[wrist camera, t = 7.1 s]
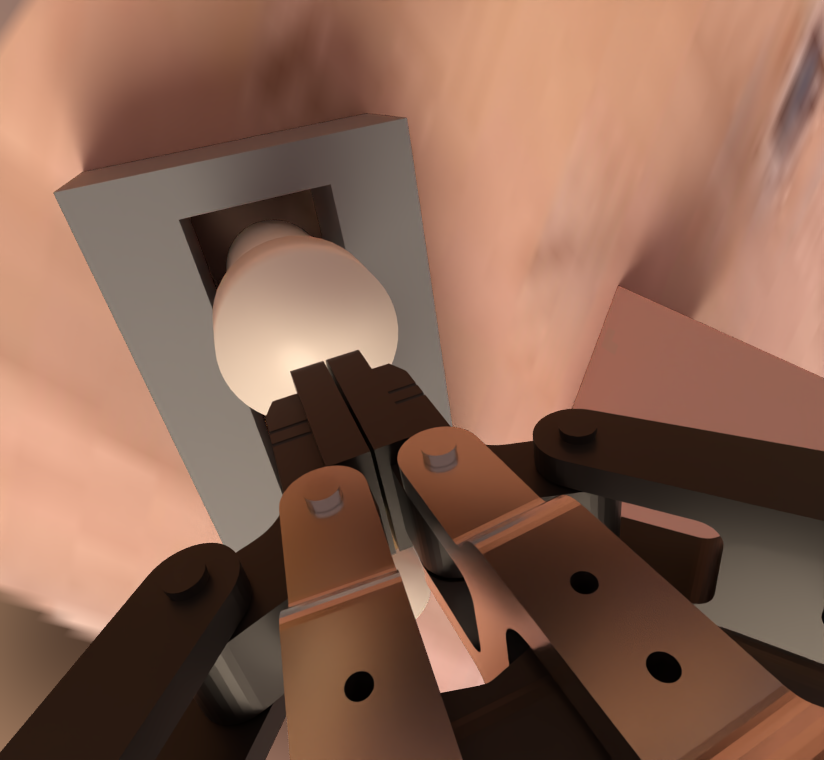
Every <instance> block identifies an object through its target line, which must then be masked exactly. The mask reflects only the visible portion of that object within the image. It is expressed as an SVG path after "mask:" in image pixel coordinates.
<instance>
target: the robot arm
mask: <svg viewBox="0 0 824 760" xmlns="http://www.w3.org/2000/svg"><path fill="white" fill-rule="evenodd" d="M326 366H327V367H326ZM290 373H291V377H292V380H293V383H294V386H295V389H296V392H297V394H293V395H290V396H287V397H284V398H281V399H278V400H275V401H272V403H271V406H270V408H269V410H268V412H267V415H266V417H265V418H266V422H267V426H268V430H269V434H270V439H271V443H272V446H273V451H274V455H275V459H276V463H277V468H278V472H279V476H280V480H281V484H282V488H283V492H284V493H283V495H282V497H281V500H280V503H279V514H280V515H279V517H278V518H277V519H276V521H275V522H274V523H273V525H272V526H271V527H270V528H269V529H268V530H267V531H266V532H265V533H263V534H262V535H261V536H260V537H258V538H257V539H256V540H254V541H253V542H251V543H250V544H248V545H247V546H245V547H244V548H242V549H241V550H239V551H237V552H236V553H235V551H234V550H232V549H231V548H230V547H228V546H226V545H223V544H219V543H203V544H198V545H194V546H191V547H188V548H186V549H183V550H181V551H179V552H177V553H175V554H174V555H172V556H170V557H169V558H167V559H166V560H164V561H163V562H162V563H161V564H159V565H158V566H157V567H156V568H155V569H154V570H153V571H152V572H151V573H150V574H149V575H148V576H147V577H146V579H145V580H144V581H143V582H142V583H141V585H140V586H139V587H138V588H137V589H136V591H135V592H134V593H133V594H132V595H131V597H130V598H129V599H128V600H127V601H126V603H125V604H124V605H123V606H122V607H121V609H120V610H119V611H118V612H117V613H116V615H115V616H114V617H113V618H112V619H111V621H110V622H109V623H108V624H107V625H106V627H105V628H104V629H103V630H102V631H101V633H100V634H99V635H98V636H97V637H96V639H95V640H94V641H93V642H92V643H91V644H90V646H89V647H88V648H87V649H86V651H85V652H84V653H83V654H82V655H81V656H80V658H79V659H78V660H77V661H76V662H75V664H74V665H73V666H72V667H71V668H70V670H69V671H68V672H67V673H66V675H65V676H64V677H63V678H62V679H61V680H60V682H59V683H58V684H57V685H56V686H55V688H54V689H53V690H52V691H51V692H50V694H49V695H48V696H47V697H46V698H45V700H44V701H43V702H42V703H41V704H40V706H39V707H38V708H37V709H36V710H35V712H34V713H33V714H32V715H31V716H30V717H29V719H28V720H27V721H26V722H25V724H24V725H23V726H22V727H21V728H20V729H19V731H18V732H17V733H16V734H15V736H14V737H13V738H12V739H11V740H10V741H9V743H8V744H7V745H6V746H5V747H4V749H3V750H2V751H1V752H0V760H266V757H267V755H268V753H269V751H270V749H271V746H272V745H273V743H274V740H275V738H276V736H277V734H278V732H279V730H280V728H281V726H282V723H283V721H284V719H285V717H286V719H287V732H288V744H289V756H290V760H824V451H821V450H815V449H809V448H804V447H798V446H792V445H787V444H781V443H775V442H770V441H764V440H758V439H753V438H747V437H741V436H736V435H730V434H725V433H719V432H713V431H708V430H702V429H696V428H691V427H685V426H679V425H674V424H668V423H662V422H657V421H651V420H645V419H640V418H634V417H628V416H623V415H617V414H611V413H606V412H600V411H594V410H588V409H566V410H560V411H557V412H554V413H551V414H549V415H547V416H545V417H544V418H542V419H541V420H540V421H539V422H538V423H537V424H536V425H535V428H534V430H533V441H529V442H522V443H514V444H507V445H485V444H484V443H483V442H482V441H481V440H480V439H479V438H478V437H477V436H476V435H474V434H473V433H471V432H469V431H468V430H465V429H462V428H457V427H451V426H450V425H449V424H448V422H447V421H446V420H445V419H444V417H443V416H442V415H441V414H440V412H439V411H438V410H437V409H436V407H435V406H434V405H433V404H432V402H431V401H430V400H429V399H428V397H427V396H426V395H424V393H423V391H422V390H421V389H420V387H419V386H418V385H416V382H415V381H414V380H413V379H412V377H411V376H410V375H409V374H408V372H407V371H406V370H403V369H401V368H399V367H396V366H394V365H391V364H389V363H388V364H385V365H382V366H379V367H376V368H373V369H372V368H371V367H370V365H369V364H368V362H367V361H366V359H365V358H364V356H363V355H362V354H361V352H360V351H359V350H355V351H352V352H349V353H346V354H343V355H340V356H336V357H333V358H330V359H327V360H326V365H325V363H324V361H321V362H318V363H315V364H311V365H308V366H305V367H302V368H299V369H295V370H292V371H290ZM622 502H625V503H629V504H633V505H637V506H641V507H645V508H649V509H653V510H657V511H660V512H664V513H668V514H672V515H676V516H680V517H684V518H688V519H692V520H696V521H699V522H702V523H704V524H706V525H708V526H710V527H712V528H713V529H714V530H715V531H716V532H717V533H718V534H719V535H720V536H718V537H716V538H700V537H696V536H692V535H689V534H685V533H681V532H677V531H674V530H670V529H666V528H663V527H659V526H655V525H652V524H648V523H644V522H640V521H637V520H633V519H629V518H626V517H622V516H621V507H622ZM392 536H393V538H394V540H395V542H396V544H397V546H398V549H399V551H403V550H405V549H408V548H410V547H412V546H414V548H415V550H416V552H417V554H418V556H419V558H420V561H421V566H422V570H423V574H424V579H425V581H426V583H427V585H428V587H429V588H430V590H431V592H432V593H433V595H434V597H435V598H436V600H437V602H438V603H439V605H440V607H441V608H442V610H443V611H444V613H445V615H446V616H447V618H448V620H449V621H450V623H451V625H452V626H453V628H454V630H455V631H456V633H457V635H458V636H459V638H460V639H461V641H462V643H463V644H464V646H465V648H466V649H467V651H468V653H469V654H470V656H471V658H472V659H473V661H474V662H475V664H476V666H477V668H478V670H479V672H480V674H481V676H482V678H483V680H484V683H485V684H483V685H480V686H475V687H470V688H465V689H459V690H454V691H449V692H443V693H440V691H439V688H438V685H437V682H436V679H435V676H434V673H433V670H432V667H431V664H430V661H429V658H428V655H427V652H426V649H425V646H424V643H423V640H422V637H421V634H420V631H419V628H418V625H417V622H416V620H415V617H414V614H413V611H412V608H411V605H410V602H409V599H408V596H407V593H406V590H405V587H404V584H403V581H402V578H401V575H400V573H399V571H398V570H396V567H395V564H394V561H393V558H392V555H394V554H396V549H395V545H394V541H393V538H392Z"/></svg>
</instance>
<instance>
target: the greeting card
mask: <svg viewBox="0 0 824 760" xmlns="http://www.w3.org/2000/svg"><path fill="white" fill-rule="evenodd" d="M572 409H588V410H594V411H600V412H606V413H611V414H617V415H623V416H628V417H634V418H640V419H645V420H651V421H657V422H662V423H668V424H674V425H679V426H685V427H691V428H696V429H702V430H708V431H713V432H719V433H725V434H730V435H736V436H741V437H747V438H753V439H758V440H764V441H770V442H775V443H781V444H787V445H792V446H798V447H804V448H809V449H815V450H821V451H824V378H823V377H820V376H818V375H816V374H814V373H811V372H809V371H807V370H805V369H803V368H800V367H798V366H796V365H794V364H791V363H789V362H787V361H785V360H783V359H780V358H778V357H776V356H774V355H771V354H769V353H767V352H765V351H763V350H760V349H758V348H756V347H754V346H751V345H749V344H747V343H745V342H743V341H740V340H738V339H736V338H734V337H731V336H729V335H727V334H725V333H723V332H720V331H718V330H716V329H714V328H712V327H709V326H707V325H705V324H703V323H700V322H698V321H696V320H694V319H692V318H689V317H687V316H685V315H683V314H680V313H678V312H676V311H674V310H672V309H669V308H667V307H665V306H663V305H660V304H658V303H656V302H654V301H652V300H649V299H647V298H645V297H643V296H640V295H638V294H636V293H634V292H632V291H629V290H627V289H625V288H623V287H621V286H618V288H617V290H616V293H615V296H614V298H613V301H612V304H611V306H610V309H609V312H608V314H607V317H606V320H605V322H604V325H603V328H602V330H601V333H600V336H599V338H598V341H597V344H596V347H595V349H594V352H593V355H592V357H591V360H590V363H589V365H588V368H587V371H586V373H585V376H584V379H583V381H582V384H581V387H580V389H579V392H578V395H577V397H576V400H575V403H574V405H573V408H572ZM621 516H622V517H626V518H629V519H633V520H637V521H640V522H644V523H648V524H652V525H655V526H659V527H663V528H666V529H670V530H674V531H677V532H681V533H685V534H689V535H692V536H696V537H700V538H716V537H718V536H720V535H719V534H718V533H717V532H716V531H715V530H714V529H713V528H712V527H710V526H708V525H706V524H704V523H702V522H699V521H696V520H692V519H688V518H684V517H680V516H676V515H672V514H668V513H664V512H660V511H657V510H653V509H649V508H645V507H641V506H637V505H633V504H629V503H625V502H622V507H621Z"/></svg>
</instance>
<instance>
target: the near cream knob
mask: <svg viewBox="0 0 824 760" xmlns="http://www.w3.org/2000/svg"><path fill="white" fill-rule="evenodd" d="M226 270H227V272H226V274H225V275H224V277H223V279H222V280H221V283H220V285H219V287H218V289H217V292H216V295H215V299H214V304H213V332H214V344H215V352H216V359H217V363H218V366H219V369H220V372H221V374H222V376H223V378H224V380H225V382H226V383H227V385H228V386H229V387H230V389H231V390H232V391H233V393H234V394H235V395H236V396H237V397H238V398H239V399H240V400H241V401H243V402H244V403H245V404H246V405H247V406H249V407H251V408H252V409H254V410H255V411H257V412H259V413H261V414H264V415H267V412H268V410H269V408H270V406H271V403H272V401H275V400H278V399H281V398H284V397H287V396H290V395H293V394H297V392H296V389H295V386H294V383H293V380H292V377H291V373H290V371H292V370H295V369H299V368H302V367H305V366H308V365H311V364H315V363H318V362H321V361H324V363H325V365H326V360H327V359H330V358H333V357H336V356H340V355H343V354H346V353H349V352H352V351H355V350H359V351H360V352H361V354H362V355H363V356H364V358H365V359H366V361H367V362H368V364H369V365H370V367H371V368H372V369H373V368H376V367H379V366H382V365H385V364H388V363H389V364H392V362H393V360H394V356H395V353H396V349H397V342H398V323H397V316H396V313H395V309H394V306H393V304H392V301H391V299H390V297H389V295H388V293H387V292H386V290H385V288H384V287H383V286H382V285H381V283H380V282H379V281H378V280H377V279H376V278H375V277H374V276H373V275H372V274H371V273H370V272H369V271H368V270H367V269H366V268H365V267H364V266H363V265H362V264H361V263H360V262H359V261H358V260H357V259H356V258H355V257H354V256H353V255H352V254H351V253H349V252H348V251H346V250H345V249H344V248H342V247H340V246H338V245H336V244H334V243H332V242H330V241H327V240H324V239H321V238H316V237H312V236H310V235H309V234H308V233H307V232H306V231H304V230H303V229H302V228H300V227H298V226H296V225H295V224H292V223H289V222H286V221H282V220H266V221H261V222H258V223H255V224H253V225H250V226H249V227H247V228H246V229H244V230H243V231H242V232H241V233H240V234H239V235H238V236H237V237H236V238H235V239H234V241H233V243H232V244H231V246H230V249H229V251H228V255H227V260H226ZM326 367H327V366H326Z"/></svg>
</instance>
